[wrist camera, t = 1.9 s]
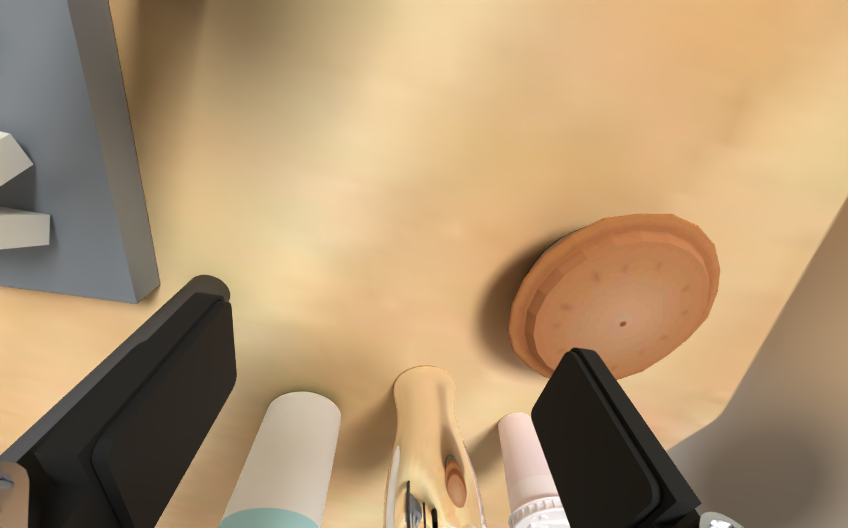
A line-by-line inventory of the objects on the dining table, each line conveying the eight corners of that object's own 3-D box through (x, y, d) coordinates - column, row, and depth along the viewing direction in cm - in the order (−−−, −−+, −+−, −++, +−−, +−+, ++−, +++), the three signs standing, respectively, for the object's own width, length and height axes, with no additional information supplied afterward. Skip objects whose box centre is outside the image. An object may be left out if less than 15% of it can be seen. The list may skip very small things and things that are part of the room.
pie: (562, 163, 22) (601, 183, 18) (724, 236, 26) (789, 267, 22) (465, 329, 29) (477, 373, 25) (605, 369, 32) (636, 413, 28)
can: (346, 390, 32) (318, 542, 21) (338, 435, 35) (310, 586, 24) (270, 381, 30) (200, 537, 20) (269, 429, 34) (208, 584, 23)
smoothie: (526, 445, 38) (586, 619, 25) (475, 436, 36) (513, 615, 24) (554, 409, 35) (637, 586, 23) (501, 399, 33) (558, 580, 21)
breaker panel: (160, 284, 25) (136, 303, 23) (-10, 260, 23) (-53, 278, 21) (96, -62, 16) (47, -85, 13) (-193, -143, 14) (-304, -186, 12)
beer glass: (391, 413, 34) (384, 624, 20) (386, 363, 30) (373, 578, 17) (458, 408, 34) (494, 613, 21) (460, 359, 30) (504, 567, 17)
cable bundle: (231, 309, 26) (-111, 755, 9) (190, 304, 26) (-254, 763, 8) (229, 278, 25) (-180, 733, 7) (186, 272, 24) (-358, 741, 7)
